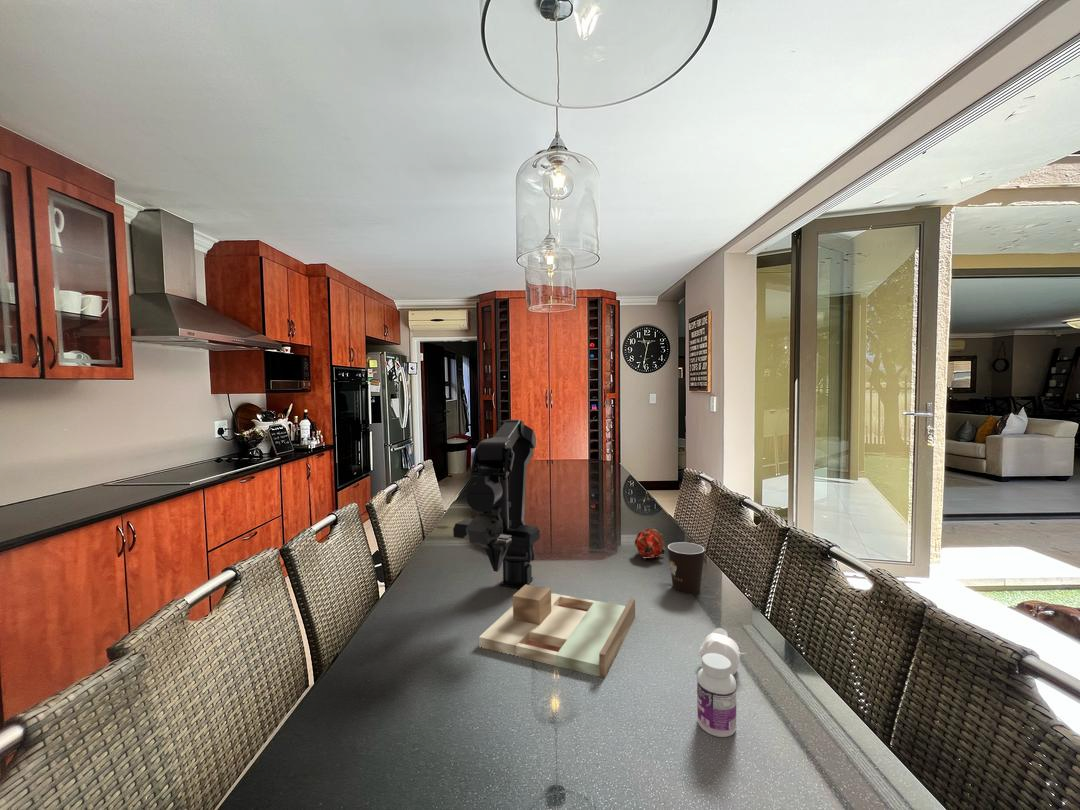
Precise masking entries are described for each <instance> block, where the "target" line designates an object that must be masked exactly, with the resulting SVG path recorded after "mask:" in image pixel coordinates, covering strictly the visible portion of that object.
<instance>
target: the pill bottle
mask: <svg viewBox="0 0 1080 810" xmlns="http://www.w3.org/2000/svg"><path fill="white" fill-rule="evenodd" d="M696 687H697V688H696V689H697V690H696V691H697V692H696V695H697V696H696V698H697V699H696V703H697V705H696V706H697V707H696V708H697V722H698V725H699V726H700V728H702V730H703V731H704V732H706V733H707V734H709V735H712V736H714V737H720V738H727V737H731V736H732V735H733V734H735V732H736V730H737V681H736V678H735V676H734V674H733V675H732V674H731V662H730V660H729V659H728V658H726V657H725V656H723V655H720V654H716V653H708V654H705V655H704V656H703V657H702V658H701V668H700V669H699V670H698V672H697V675H696Z"/></svg>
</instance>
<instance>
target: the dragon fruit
mask: <svg viewBox="0 0 1080 810" xmlns="http://www.w3.org/2000/svg"><path fill="white" fill-rule="evenodd" d="M664 537H665V536H664V535H663V533H660V532H659V531H658V530H657V529H655V528H652V529H649V528H645V529H643V531H640V532H638V533H637V534H636V538H635V541H634V547H636V550H637V551H638V553H639V554H640V556H641V557H650V558H649V559H655V558H659V557H660V556H661V555H664V554H665V552H666V545H665V543H666V542H664V540H663V539H664ZM655 556H657V557H655ZM643 560H648V559H646V558H644V559H643Z"/></svg>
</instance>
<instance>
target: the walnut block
mask: <svg viewBox="0 0 1080 810" xmlns="http://www.w3.org/2000/svg"><path fill="white" fill-rule="evenodd" d="M551 593H552V589H551V588H549V587H545V586H544V587H543V586H538V585H531V584H527V585H526V584H525V585H524V586H523V587H522V588H521V589H520V588H519V590H517V591H516V592H515V593H514V594H513V595H512V606H513V620H518V621H522V622H527V623H532V624H537V625H540V624H541V623H542V622H543V621H544V620H545V619H546V618H547V616H548V615H549V614H550V613H551Z"/></svg>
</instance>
